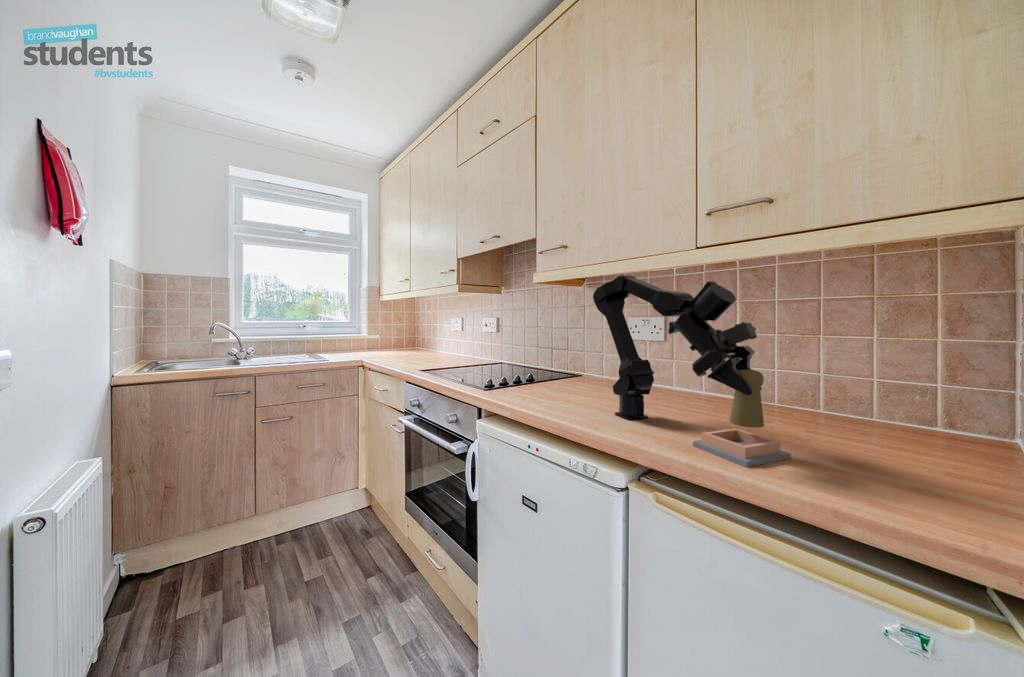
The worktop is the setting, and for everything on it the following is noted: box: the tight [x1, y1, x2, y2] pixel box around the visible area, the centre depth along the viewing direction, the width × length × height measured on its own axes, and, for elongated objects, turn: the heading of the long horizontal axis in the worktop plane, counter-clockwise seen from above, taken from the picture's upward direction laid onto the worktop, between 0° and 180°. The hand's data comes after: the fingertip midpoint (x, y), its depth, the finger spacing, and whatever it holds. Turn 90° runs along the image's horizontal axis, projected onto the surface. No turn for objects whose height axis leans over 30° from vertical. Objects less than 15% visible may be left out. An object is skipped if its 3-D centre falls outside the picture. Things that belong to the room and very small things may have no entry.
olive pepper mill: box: [728, 369, 765, 429], centre depth 75 cm, size 6×6×11 cm
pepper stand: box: [692, 427, 792, 468], centre depth 74 cm, size 12×12×3 cm
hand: (755, 392), depth 74 cm, fingers closed on olive pepper mill, 5 cm apart
